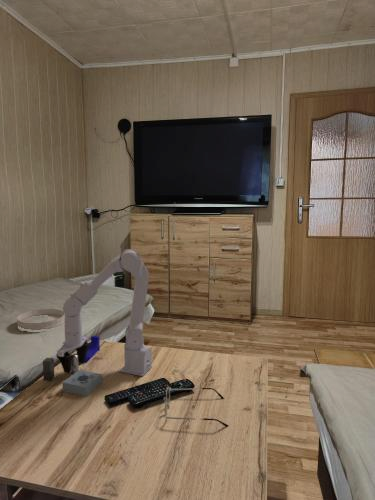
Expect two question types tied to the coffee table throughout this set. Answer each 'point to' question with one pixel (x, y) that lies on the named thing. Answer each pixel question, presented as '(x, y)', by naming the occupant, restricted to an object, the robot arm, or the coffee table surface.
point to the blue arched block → (92, 348)
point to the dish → (54, 318)
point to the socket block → (82, 382)
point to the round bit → (74, 364)
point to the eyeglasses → (187, 418)
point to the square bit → (48, 369)
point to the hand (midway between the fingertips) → (74, 367)
